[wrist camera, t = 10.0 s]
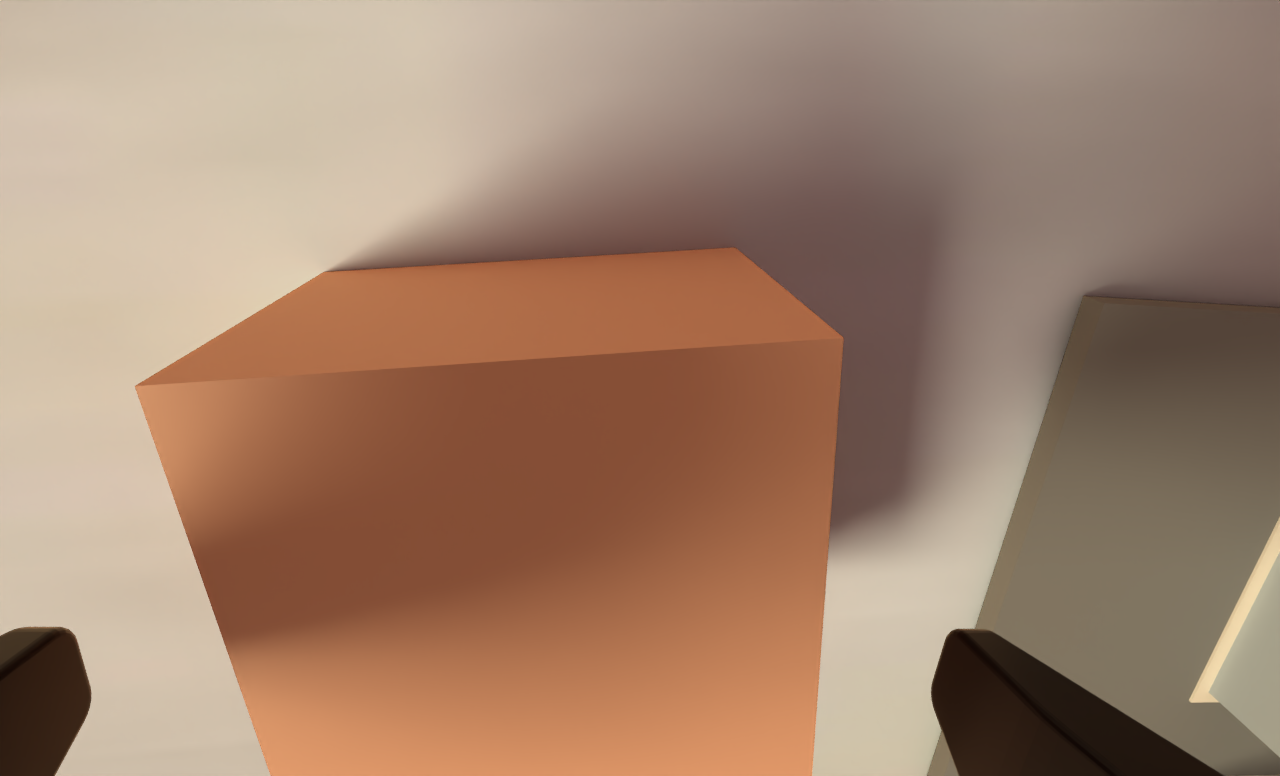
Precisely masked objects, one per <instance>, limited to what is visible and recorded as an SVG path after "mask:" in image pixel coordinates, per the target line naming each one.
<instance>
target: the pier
mask: <svg viewBox="0 0 1280 776" xmlns="http://www.w3.org/2000/svg"><path fill="white" fill-rule="evenodd" d="M1209 693H1210V694H1211V695H1212V696H1213V697H1214V698H1215V699H1216V700H1217V701H1219V702H1220V703H1221V704H1222V705H1223V706H1224V707H1225V708H1226V709H1227V710H1228V711H1230V712H1231V713H1232V714H1233V715H1234V716H1235V717H1236V718H1237V719H1238V720H1239V721H1240V722H1242V723H1243V724H1244V725H1245V726H1246V727H1247V728H1248V729H1249V730H1250V731H1251V732H1252V733H1254V734H1255V735H1256V736H1257V737H1258V738H1259V739H1260V740H1261V741H1262V742H1263V743H1264V744H1266V745H1267V746H1268V747H1269V748H1270V749H1271V750H1272V751H1273V752H1274V753H1275V754H1277V755H1278V756H1279V757H1280V552H1279V554H1278V556H1277V558H1276V560H1275V562H1274V564H1273V566H1272V568H1271V570H1270V572H1269V574H1268V576H1267V578H1266V580H1265V582H1264V584H1263V586H1262V587H1261V589H1260V591H1259V593H1258V595H1257V597H1256V599H1255V601H1254V603H1253V605H1252V607H1251V609H1250V611H1249V613H1248V615H1247V617H1246V619H1245V621H1244V623H1243V625H1242V627H1241V629H1240V631H1239V633H1238V635H1237V637H1236V639H1235V641H1234V643H1233V645H1232V647H1231V649H1230V651H1229V653H1228V655H1227V657H1226V659H1225V660H1224V662H1223V664H1222V666H1221V668H1220V670H1219V672H1218V674H1217V676H1216V678H1215V680H1214V682H1213V684H1212V686H1211V688H1210V690H1209Z"/></svg>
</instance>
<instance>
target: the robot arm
mask: <svg viewBox="0 0 1280 776" xmlns="http://www.w3.org/2000/svg"><path fill="white" fill-rule="evenodd" d="M931 697H932V703H933V707H934V711H935V713H936V716H937V719H938V722H939V724H940V727H941V730H942V732H943V735H944V738H945V740H946V743H947V746H948V748H949V751H950V754H951V757H952V759H953V762H954V765H955V767H956V770H957V773H958V775H959V776H1224V775H1223V774H1221V773H1220V772H1218V771H1216V770H1215V769H1213V768H1212V767H1210V766H1208V765H1207V764H1205V763H1203V762H1202V761H1200V760H1199V759H1197V758H1195V757H1194V756H1192V755H1191V754H1189V753H1187V752H1186V751H1184V750H1183V749H1181V748H1179V747H1178V746H1176V745H1175V744H1173V743H1171V742H1170V741H1168V740H1166V739H1165V738H1163V737H1162V736H1160V735H1158V734H1157V733H1155V732H1154V731H1152V730H1150V729H1149V728H1147V727H1146V726H1144V725H1142V724H1141V723H1139V722H1138V721H1136V720H1134V719H1133V718H1131V717H1129V716H1128V715H1126V714H1125V713H1123V712H1121V711H1120V710H1118V709H1117V708H1115V707H1113V706H1112V705H1110V704H1109V703H1107V702H1105V701H1104V700H1102V699H1101V698H1099V697H1097V696H1096V695H1094V694H1092V693H1091V692H1089V691H1088V690H1086V689H1084V688H1083V687H1081V686H1080V685H1078V684H1076V683H1075V682H1073V681H1072V680H1070V679H1068V678H1067V677H1065V676H1064V675H1062V674H1060V673H1059V672H1057V671H1056V670H1054V669H1052V668H1051V667H1049V666H1047V665H1046V664H1044V663H1043V662H1041V661H1039V660H1038V659H1036V658H1035V657H1033V656H1031V655H1030V654H1028V653H1027V652H1025V651H1023V650H1022V649H1020V648H1019V647H1017V646H1015V645H1014V644H1012V643H1011V642H1009V641H1007V640H1006V639H1004V638H1002V637H1001V636H999V635H998V634H996V633H994V632H992V631H990V630H986V629H955V630H952V631H951V632H950V633H949V634H948V635H947V637H946V639H945V642H944V646H943V649H942V652H941V655H940V659H939V662H938V665H937V669H936V672H935V675H934V678H933V682H932V687H931ZM90 703H91V687H90V684H89V680H88V677H87V673H86V670H85V666H84V663H83V659H82V656H81V652H80V649H79V645H78V642H77V639H76V637H75V635H74V634H73V633H72V632H71V631H70V630H69V629H66V628H63V627H23V628H18V629H14V630H12V631H9V632H7V633H5V634H3V635H1V636H0V776H55V774H56V773H57V771H58V769H59V767H60V765H61V763H62V761H63V760H64V758H65V756H66V754H67V752H68V750H69V749H70V747H71V745H72V743H73V741H74V739H75V737H76V736H77V734H78V732H79V730H80V728H81V726H82V725H83V723H84V721H85V719H86V716H87V714H88V711H89V708H90Z"/></svg>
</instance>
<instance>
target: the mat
mask: <svg viewBox="0 0 1280 776" xmlns="http://www.w3.org/2000/svg"><path fill="white" fill-rule="evenodd" d="M1279 552H1280V308H1276V307H1260V306H1243V305H1226V304H1210V303H1193V302H1177V301H1160V300H1143V299H1127V298H1110V297H1093V296H1083V299H1082V302H1081V305H1080V308H1079V311H1078V314H1077V317H1076V321H1075V324H1074V327H1073V330H1072V333H1071V336H1070V339H1069V342H1068V345H1067V348H1066V351H1065V354H1064V357H1063V360H1062V363H1061V367H1060V370H1059V373H1058V376H1057V379H1056V382H1055V385H1054V388H1053V391H1052V394H1051V397H1050V400H1049V403H1048V406H1047V410H1046V413H1045V416H1044V419H1043V422H1042V425H1041V428H1040V431H1039V434H1038V437H1037V440H1036V443H1035V446H1034V449H1033V452H1032V456H1031V459H1030V462H1029V465H1028V468H1027V471H1026V474H1025V477H1024V480H1023V483H1022V486H1021V489H1020V492H1019V495H1018V498H1017V502H1016V505H1015V508H1014V511H1013V514H1012V517H1011V520H1010V523H1009V526H1008V529H1007V532H1006V535H1005V538H1004V541H1003V545H1002V548H1001V551H1000V554H999V557H998V560H997V563H996V566H995V569H994V572H993V575H992V578H991V581H990V584H989V587H988V591H987V594H986V597H985V600H984V603H983V606H982V609H981V612H980V615H979V618H978V621H977V624H976V627H975V629H986V630H990V631H992V632H994V633H996V634H998V635H999V636H1001V637H1002V638H1004V639H1006V640H1007V641H1009V642H1011V643H1012V644H1014V645H1015V646H1017V647H1019V648H1020V649H1022V650H1023V651H1025V652H1027V653H1028V654H1030V655H1031V656H1033V657H1035V658H1036V659H1038V660H1039V661H1041V662H1043V663H1044V664H1046V665H1047V666H1049V667H1051V668H1052V669H1054V670H1056V671H1057V672H1059V673H1060V674H1062V675H1064V676H1065V677H1067V678H1068V679H1070V680H1072V681H1073V682H1075V683H1076V684H1078V685H1080V686H1081V687H1083V688H1084V689H1086V690H1088V691H1089V692H1091V693H1092V694H1094V695H1096V696H1097V697H1099V698H1101V699H1102V700H1104V701H1105V702H1107V703H1109V704H1110V705H1112V706H1113V707H1115V708H1117V709H1118V710H1120V711H1121V712H1123V713H1125V714H1126V715H1128V716H1129V717H1131V718H1133V719H1134V720H1136V721H1138V722H1139V723H1141V724H1142V725H1144V726H1146V727H1147V728H1149V729H1150V730H1152V731H1154V732H1155V733H1157V734H1158V735H1160V736H1162V737H1163V738H1165V739H1166V740H1168V741H1170V742H1171V743H1173V744H1175V745H1176V746H1178V747H1179V748H1181V749H1183V750H1184V751H1186V752H1187V753H1189V754H1191V755H1192V756H1194V757H1195V758H1197V759H1199V760H1200V761H1202V762H1203V763H1205V764H1207V765H1208V766H1210V767H1212V768H1213V769H1215V770H1216V771H1218V772H1220V773H1221V774H1223V775H1224V776H1280V757H1279V756H1278V755H1277V754H1275V753H1274V752H1273V751H1272V750H1271V749H1270V748H1269V747H1268V746H1267V745H1266V744H1264V743H1263V742H1262V741H1261V740H1260V739H1259V738H1258V737H1257V736H1256V735H1255V734H1254V733H1252V732H1251V731H1250V730H1249V729H1248V728H1247V727H1246V726H1245V725H1244V724H1243V723H1242V722H1240V721H1239V720H1238V719H1237V718H1236V717H1235V716H1234V715H1233V714H1232V713H1231V712H1230V711H1228V710H1227V709H1226V708H1225V707H1224V706H1223V705H1222V704H1221V703H1220V702H1219V701H1217V700H1216V699H1215V698H1214V697H1213V696H1212V695H1211V694H1210V693H1209V690H1210V688H1211V686H1212V684H1213V682H1214V680H1215V678H1216V676H1217V674H1218V672H1219V670H1220V668H1221V666H1222V664H1223V662H1224V660H1225V659H1226V657H1227V655H1228V653H1229V651H1230V649H1231V647H1232V645H1233V643H1234V641H1235V639H1236V637H1237V635H1238V633H1239V631H1240V629H1241V627H1242V625H1243V623H1244V621H1245V619H1246V617H1247V615H1248V613H1249V611H1250V609H1251V607H1252V605H1253V603H1254V601H1255V599H1256V597H1257V595H1258V593H1259V591H1260V589H1261V587H1262V586H1263V584H1264V582H1265V580H1266V578H1267V576H1268V574H1269V572H1270V570H1271V568H1272V566H1273V564H1274V562H1275V560H1276V558H1277V556H1278V554H1279ZM927 776H959V775H958V773H957V770H956V767H955V765H954V762H953V759H952V757H951V754H950V751H949V748H948V746H947V743H946V740H945V738H944V735H943V732H941V735H940V738H939V741H938V744H937V747H936V750H935V753H934V756H933V759H932V762H931V765H930V769H929V772H928V775H927Z"/></svg>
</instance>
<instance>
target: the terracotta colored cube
mask: <svg viewBox="0 0 1280 776" xmlns="http://www.w3.org/2000/svg"><path fill="white" fill-rule="evenodd" d="M843 340H844V338H843V337H842V336H841V335H840V334H839V333H837V332H836V331H835V330H834V329H833V328H831V327H830V326H829V325H828V324H827V323H825V322H824V321H823V320H822V319H821V318H819V317H818V316H817V315H816V314H815V313H813V312H812V311H811V310H810V309H809V308H807V307H806V306H805V305H804V304H803V303H801V302H800V301H799V300H798V299H797V298H795V297H794V296H793V295H792V294H791V293H789V292H788V291H787V290H786V289H785V288H783V287H782V286H781V285H780V284H779V283H777V282H776V281H775V280H774V279H773V278H771V277H770V276H769V275H768V274H767V273H765V272H764V271H763V270H762V269H761V268H759V267H758V266H757V265H756V264H755V263H753V262H752V261H751V260H750V259H749V258H747V257H746V256H745V255H744V254H743V253H741V252H740V251H739V250H738V249H737V248H735V247H733V248H716V249H700V250H683V251H666V252H649V253H633V254H616V255H599V256H582V257H565V258H549V259H532V260H515V261H498V262H482V263H465V264H448V265H431V266H415V267H398V268H381V269H364V270H348V271H331V272H323V273H321V274H320V275H318V276H316V277H315V278H313V279H312V280H310V281H308V282H307V283H305V284H303V285H302V286H300V287H298V288H297V289H295V290H293V291H292V292H290V293H288V294H287V295H285V296H283V297H282V298H280V299H278V300H277V301H275V302H273V303H272V304H270V305H268V306H267V307H265V308H264V309H262V310H260V311H259V312H257V313H255V314H254V315H252V316H250V317H249V318H247V319H245V320H244V321H242V322H240V323H239V324H237V325H235V326H234V327H232V328H230V329H229V330H227V331H225V332H224V333H222V334H220V335H219V336H217V337H215V338H214V339H212V340H211V341H209V342H207V343H206V344H204V345H202V346H201V347H199V348H197V349H196V350H194V351H192V352H191V353H189V354H187V355H186V356H184V357H182V358H181V359H179V360H177V361H176V362H174V363H172V364H171V365H169V366H167V367H166V368H164V369H162V370H161V371H159V372H158V373H156V374H154V375H153V376H151V377H149V378H148V379H146V380H144V381H143V382H141V383H139V384H138V385H136V386H135V388H136V391H137V394H138V397H139V400H140V402H141V405H142V408H143V411H144V414H145V417H146V420H147V423H148V425H149V428H150V431H151V434H152V437H153V440H154V443H155V445H156V448H157V451H158V454H159V457H160V460H161V463H162V465H163V468H164V471H165V474H166V477H167V480H168V483H169V486H170V488H171V491H172V494H173V497H174V500H175V503H176V506H177V508H178V511H179V514H180V517H181V520H182V523H183V526H184V528H185V531H186V534H187V537H188V540H189V543H190V546H191V549H192V551H193V554H194V557H195V560H196V563H197V566H198V569H199V571H200V574H201V577H202V580H203V583H204V586H205V589H206V591H207V594H208V597H209V600H210V603H211V606H212V609H213V612H214V614H215V617H216V620H217V623H218V626H219V629H220V632H221V634H222V637H223V640H224V643H225V646H226V649H227V652H228V654H229V657H230V660H231V663H232V666H233V669H234V672H235V674H236V677H237V680H238V683H239V686H240V689H241V692H242V695H243V697H244V700H245V703H246V706H247V709H248V712H249V715H250V717H251V720H252V723H253V726H254V729H255V732H256V735H257V737H258V740H259V743H260V746H261V749H262V752H263V755H264V758H265V760H266V763H267V766H268V769H269V772H270V775H271V776H812V766H813V752H814V738H815V724H816V711H817V697H818V683H819V670H820V656H821V642H822V628H823V615H824V601H825V587H826V574H827V560H828V546H829V532H830V519H831V505H832V491H833V478H834V464H835V450H836V436H837V423H838V409H839V395H840V382H841V368H842V354H843Z"/></svg>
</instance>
